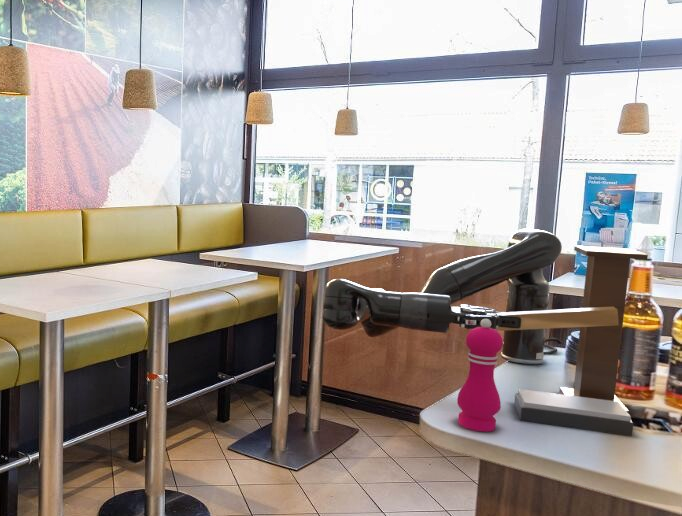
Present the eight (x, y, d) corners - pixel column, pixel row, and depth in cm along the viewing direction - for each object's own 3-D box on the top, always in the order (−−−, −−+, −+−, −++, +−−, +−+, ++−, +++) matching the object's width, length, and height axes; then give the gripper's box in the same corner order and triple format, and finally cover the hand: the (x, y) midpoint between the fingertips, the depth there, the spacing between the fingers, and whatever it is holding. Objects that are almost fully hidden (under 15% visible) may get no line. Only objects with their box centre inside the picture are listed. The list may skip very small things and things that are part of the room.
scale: (514, 404, 141) (515, 387, 140) (617, 418, 135) (619, 401, 134) (520, 420, 132) (522, 402, 131) (632, 436, 125) (634, 417, 125)
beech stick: (485, 328, 138) (484, 313, 138) (614, 322, 130) (613, 306, 130) (486, 331, 136) (485, 316, 135) (618, 325, 127) (617, 309, 127)
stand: (558, 393, 149) (574, 245, 146) (613, 400, 146) (630, 248, 142) (569, 410, 138) (586, 250, 135) (628, 418, 135) (647, 254, 131)
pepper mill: (461, 415, 133) (471, 313, 131) (502, 425, 128) (513, 319, 126) (450, 425, 127) (459, 318, 125) (492, 436, 123) (503, 325, 121)
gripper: (423, 323, 148) (513, 332, 142) (422, 337, 135) (522, 348, 129) (425, 288, 147) (517, 296, 141) (425, 299, 134) (526, 308, 128)
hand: (519, 321), depth 135 cm, fingers closed on beech stick, 3 cm apart
